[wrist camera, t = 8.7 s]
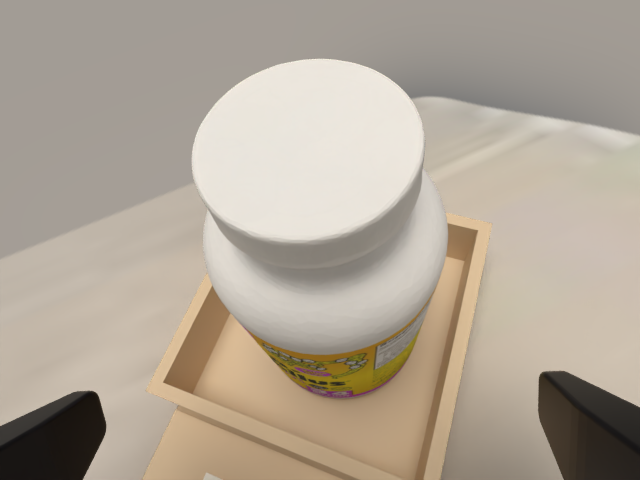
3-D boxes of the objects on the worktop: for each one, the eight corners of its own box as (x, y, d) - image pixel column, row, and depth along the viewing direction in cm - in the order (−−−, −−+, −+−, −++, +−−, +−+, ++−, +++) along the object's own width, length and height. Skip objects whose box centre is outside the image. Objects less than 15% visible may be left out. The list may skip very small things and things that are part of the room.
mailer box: (366, 758, 13) (365, 844, 10) (89, 595, 16) (23, 624, 13) (474, 259, 21) (492, 223, 18) (274, 207, 24) (260, 169, 21)
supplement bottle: (242, 332, 20) (76, 155, 9) (336, 238, 22) (300, -8, 11) (348, 438, 17) (306, 382, 6) (445, 321, 19) (551, 111, 8)
